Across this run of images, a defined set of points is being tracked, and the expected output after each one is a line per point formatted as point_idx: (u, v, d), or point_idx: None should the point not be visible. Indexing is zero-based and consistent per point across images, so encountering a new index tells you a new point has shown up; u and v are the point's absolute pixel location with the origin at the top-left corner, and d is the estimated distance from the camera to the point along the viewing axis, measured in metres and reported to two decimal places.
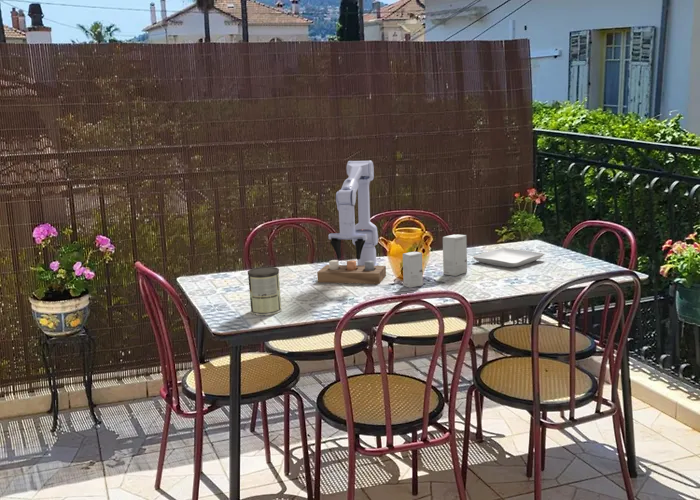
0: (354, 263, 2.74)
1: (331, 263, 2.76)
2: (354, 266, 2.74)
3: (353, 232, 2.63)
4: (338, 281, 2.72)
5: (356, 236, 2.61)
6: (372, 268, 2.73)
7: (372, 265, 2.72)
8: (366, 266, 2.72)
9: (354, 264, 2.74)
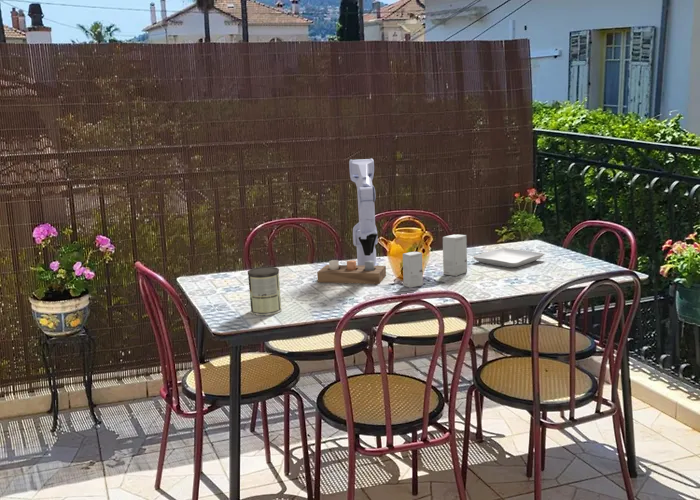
0: (354, 263, 2.74)
1: (331, 263, 2.76)
2: (354, 266, 2.74)
3: (363, 229, 2.68)
4: (338, 281, 2.72)
5: (360, 233, 2.67)
6: (372, 268, 2.73)
7: (372, 265, 2.72)
8: (366, 266, 2.72)
9: (354, 264, 2.74)
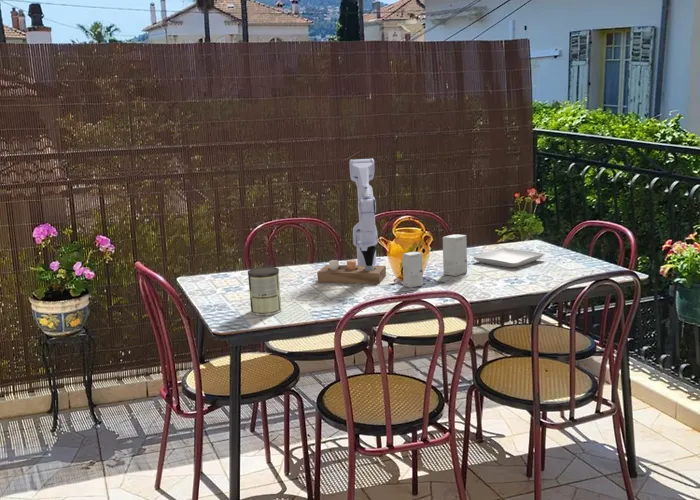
0: (354, 263, 2.74)
1: (331, 263, 2.76)
2: (354, 266, 2.74)
3: (364, 240, 2.69)
4: (338, 281, 2.72)
5: (361, 244, 2.68)
6: None
7: (372, 268, 2.72)
8: (366, 270, 2.73)
9: (354, 264, 2.74)
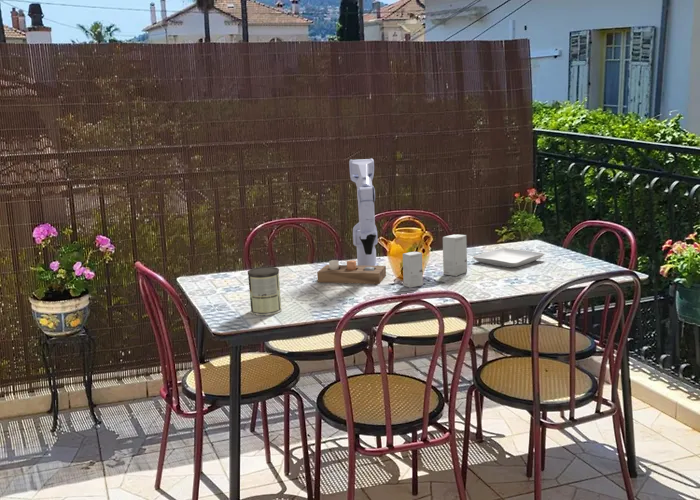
0: (354, 263, 2.74)
1: (331, 263, 2.76)
2: (354, 266, 2.74)
3: (363, 229, 2.68)
4: (338, 281, 2.72)
5: (360, 233, 2.67)
6: None
7: None
8: None
9: (354, 264, 2.74)
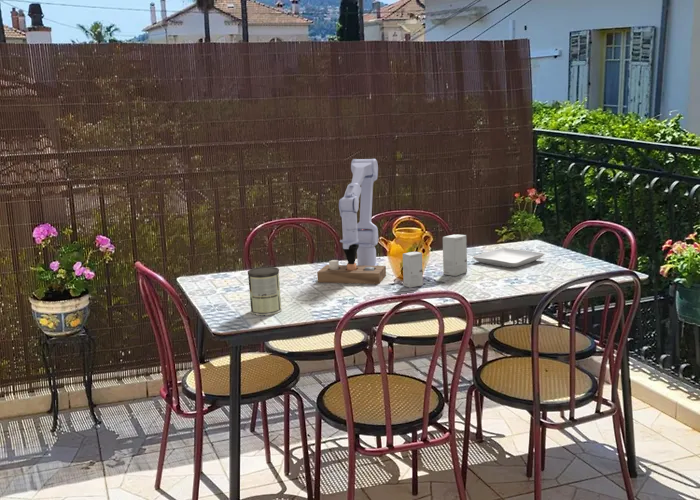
0: (354, 265, 2.74)
1: (331, 263, 2.76)
2: (354, 268, 2.74)
3: (346, 239, 2.71)
4: (338, 281, 2.72)
5: (343, 243, 2.70)
6: None
7: None
8: None
9: (354, 266, 2.74)
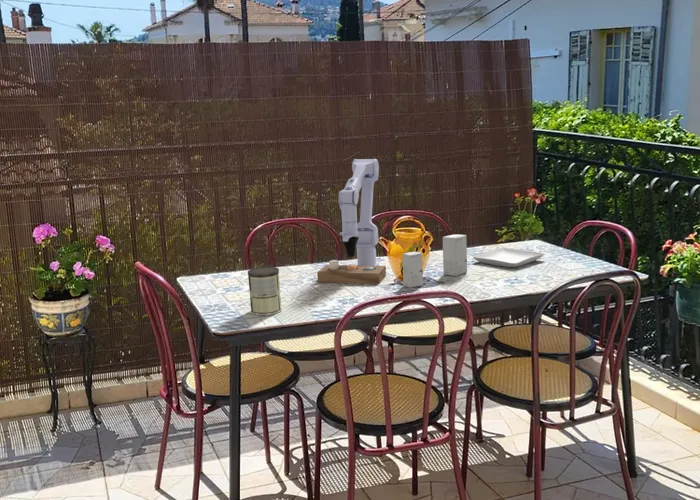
0: (354, 267, 2.74)
1: (331, 263, 2.76)
2: None
3: (345, 231, 2.70)
4: (338, 281, 2.72)
5: (342, 235, 2.69)
6: None
7: None
8: None
9: (354, 268, 2.74)
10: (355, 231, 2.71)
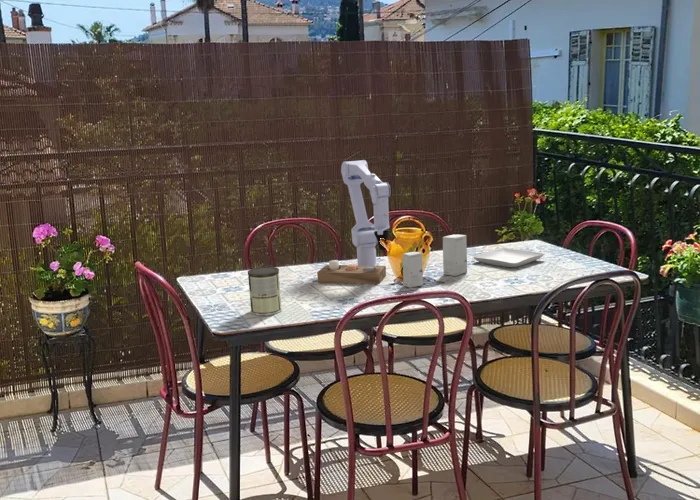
0: (354, 267, 2.74)
1: (331, 263, 2.76)
2: None
3: (378, 225, 2.73)
4: (338, 281, 2.72)
5: (376, 228, 2.72)
6: None
7: None
8: None
9: (354, 268, 2.74)
10: (387, 224, 2.74)
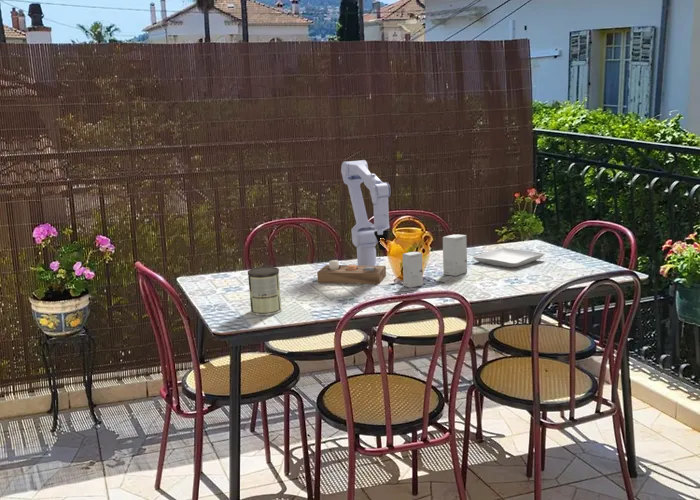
0: (354, 267, 2.74)
1: (331, 263, 2.76)
2: None
3: (378, 225, 2.73)
4: (338, 281, 2.72)
5: (376, 228, 2.72)
6: None
7: None
8: None
9: (354, 268, 2.74)
10: (387, 224, 2.74)
